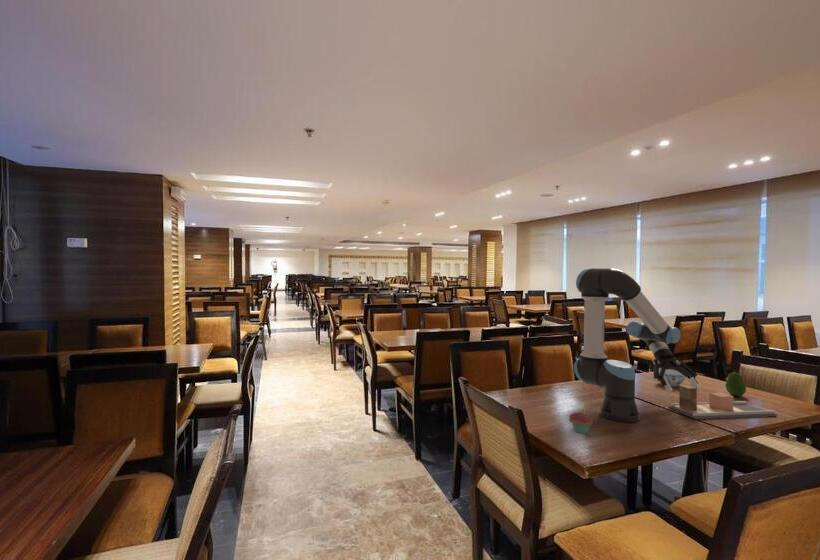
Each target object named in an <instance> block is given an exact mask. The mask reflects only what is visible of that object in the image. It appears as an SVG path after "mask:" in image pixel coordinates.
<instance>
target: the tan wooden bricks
mask: <svg viewBox="0 0 820 560" xmlns="http://www.w3.org/2000/svg"><path fill="white" fill-rule="evenodd" d="M678 387H679V392H678V393H679V398H678V399H679V402H678V403H679V405H674V407H675V408H677V409H679V410H682V411H684V412H686V413H689V414H691V415H692V413H705V412H735V411H744V410H741V409H738V408H736V407H733V410H719V409H716V408H713V407H711V406H709V404H704V405H697V403H698V402H697V401H698V398H697V397H698V396H697V394H698V393H697V388H695V387H692V385H689V384H678Z"/></svg>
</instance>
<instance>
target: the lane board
mask: <svg viewBox="0 0 820 560" xmlns="http://www.w3.org/2000/svg"><path fill="white" fill-rule="evenodd" d="M669 404H670V405H668V408H669V409H671V410H673V411H676V412H678V413H680V414H683V415H684V416H687V417H689V418H692V419H694V420H715V419H717V418H720V419H743V418H746V417H748V418H765V417H766V418H768V417H767V416H776V417H777V415H778V414H777V413H776V412H775V410H774V409H768V410H765V409H762V408H759V407H757V406H753V405H751V404H748V401H746V400H744V401H743V400H738V401H733V407H736V408H738V409H741V410H744V411H735V412H705V413H692V415H691V414H689V413H686V412H684V411H682V410H679V409H677V408H675V407H674V405H679V402H678V403H677V402H675V403H672V402H671V403H669ZM704 404H709V401H708V402H705V401H704V402H697V405H704Z"/></svg>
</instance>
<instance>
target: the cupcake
mask: <svg viewBox="0 0 820 560" xmlns="http://www.w3.org/2000/svg"><path fill="white" fill-rule="evenodd" d="M587 404H588V403H587V402H584V405H583V411H582V412H581V411H580V412H579V411H578V412H574V413H571V414H570V415H569V418H568V421H569V422H570V423H571V424H572V426H573V430H574V432H576V433H579V434H587V433H588V431H589V429H590V427H591V426H592V425H593V423H594V422H593V418H592V416H590V415H589V414H588V413H586V410H587V409H586V408H587Z"/></svg>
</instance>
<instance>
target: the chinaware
mask: <svg viewBox="0 0 820 560" xmlns="http://www.w3.org/2000/svg"><path fill="white" fill-rule="evenodd" d="M660 371H661V367H659V374H660ZM664 377H666V379H667V381H668V383H669V384H670V386H671V387H679V385H681V384H682V383H683V382H684V381H685V380H686V379H687V377H686V376H684V375H683V374H681V373H679V372H678V371H675V370H671V369H669V370H667V369H666V370H665V373H664ZM664 377H663V378H664Z"/></svg>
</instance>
